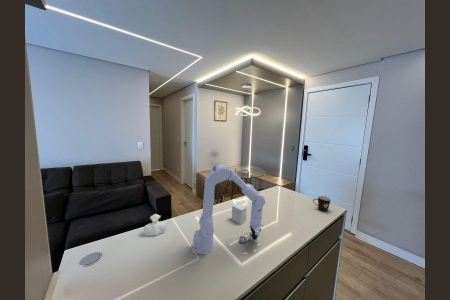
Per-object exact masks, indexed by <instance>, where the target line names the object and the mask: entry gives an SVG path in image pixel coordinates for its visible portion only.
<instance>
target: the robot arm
mask: <svg viewBox="0 0 450 300" xmlns="http://www.w3.org/2000/svg"><path fill="white" fill-rule="evenodd" d="M226 180H227V181H229V182H230V181H233V182H234V183H235V185H237V186H238V187H239V188H241V192H242V194H243V195H244V196H245V197H247V198H248V199H249V200H250V201H251V210H250V221H249V227H250V232H252V238H253V240H255V241H257V238H258V237H259V236H260V233H261V231H262V227H264V223H263V222H262V219H263V218H262V217H263V209H264V205H265V204H266V200H265V198H264V196H263V195H262V194H261V193H260V191H259V190H257V189H255V186H254V185H253V184H250V183H245V181H243V179H241V177H240V176H239V175H238V174H237V173H236V172H235V171H233V170H232V169H231V168H230V167H228V166H226V165H225V164H224V163H223V162H219V163H216V164H215V165H213V166H212V167H211V169H210V171H209V172H208V173H207V175H206V177H205V179H204V189H203V190H204V192H203V202H202V203H203V204H202V213H201V217H200V218H199V220H198V224H199V229H198V230H195V232H194V234H193V240H192V246H193V247H192V253H194V254H197V255H198V254H199V255H205V256H206V255H207V254H209V253H211V252H212V251H213V247H214V233H215V228H214V226H213V223H214V222H213V212H214V199H215V188H216V185H217V184H219V183H222V182H224V181H226Z"/></svg>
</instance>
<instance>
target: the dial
mask: <svg viewBox="0 0 450 300" xmlns="http://www.w3.org/2000/svg"><path fill="white" fill-rule="evenodd" d="M244 233H245V234H249V232H248V231H246V230H245V231H244ZM256 242H257V247H261V246H260V240H259V238H258V237H257V240H256ZM257 251H258V250H257V249H253V250H252V252H253V253H256V252H257ZM243 255H249V252H247V251H245V252H243Z"/></svg>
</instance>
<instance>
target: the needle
mask: <svg viewBox="0 0 450 300" xmlns="http://www.w3.org/2000/svg"><path fill="white" fill-rule="evenodd" d="M238 238H239V240H238V242H239V243H240V244H242V245H244V244H246V243H247V241H252V240H254V239H253V238H252V231H249V232H248V236H247V237H246V236H240V237H238Z"/></svg>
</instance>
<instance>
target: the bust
mask: <svg viewBox="0 0 450 300" xmlns="http://www.w3.org/2000/svg"><path fill="white" fill-rule="evenodd" d="M161 216H162V215H159V214H157V213H154V214H153V215H151V216H150V217H149V219H150V220H151V221H152V222H151V223H148V224H146V225H144V227H143V232H144V235H145V236H148V237H153V236H160V235H161V234H163V233H165V232H166V230H167V225H168V224H167V223H166V222H163V221H159V219H161Z"/></svg>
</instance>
